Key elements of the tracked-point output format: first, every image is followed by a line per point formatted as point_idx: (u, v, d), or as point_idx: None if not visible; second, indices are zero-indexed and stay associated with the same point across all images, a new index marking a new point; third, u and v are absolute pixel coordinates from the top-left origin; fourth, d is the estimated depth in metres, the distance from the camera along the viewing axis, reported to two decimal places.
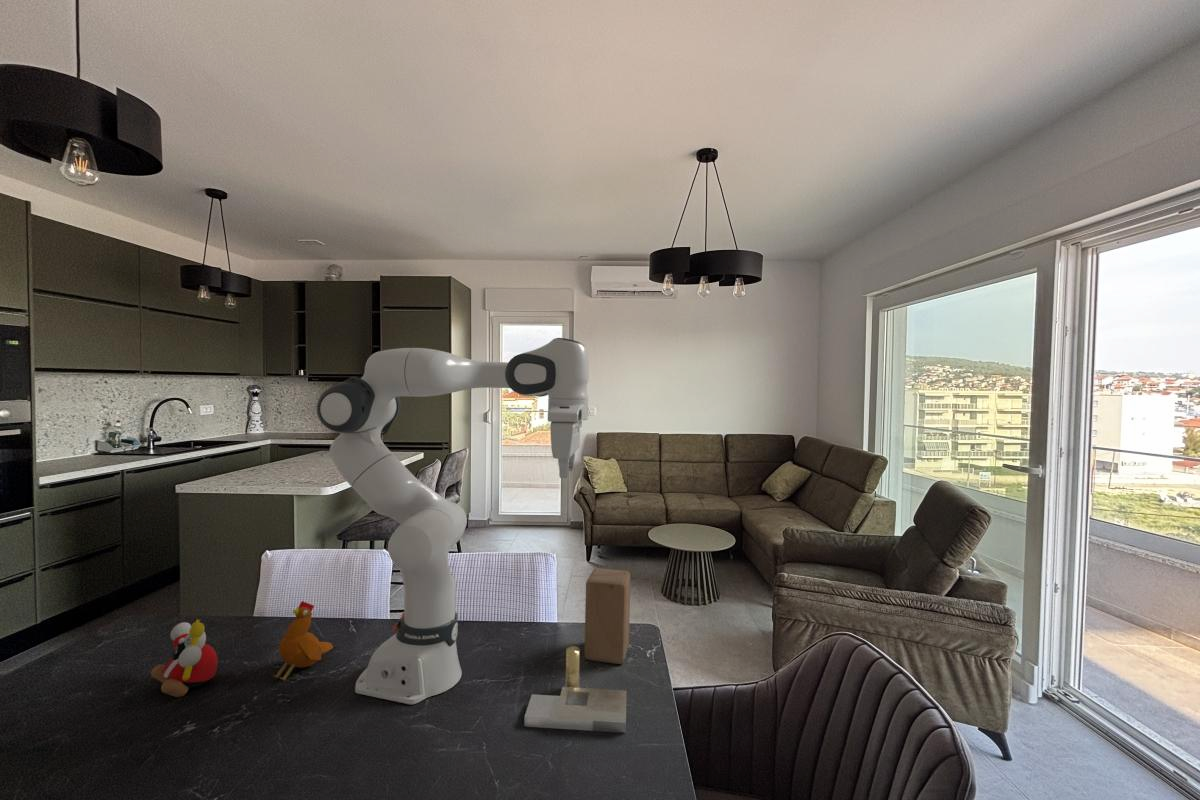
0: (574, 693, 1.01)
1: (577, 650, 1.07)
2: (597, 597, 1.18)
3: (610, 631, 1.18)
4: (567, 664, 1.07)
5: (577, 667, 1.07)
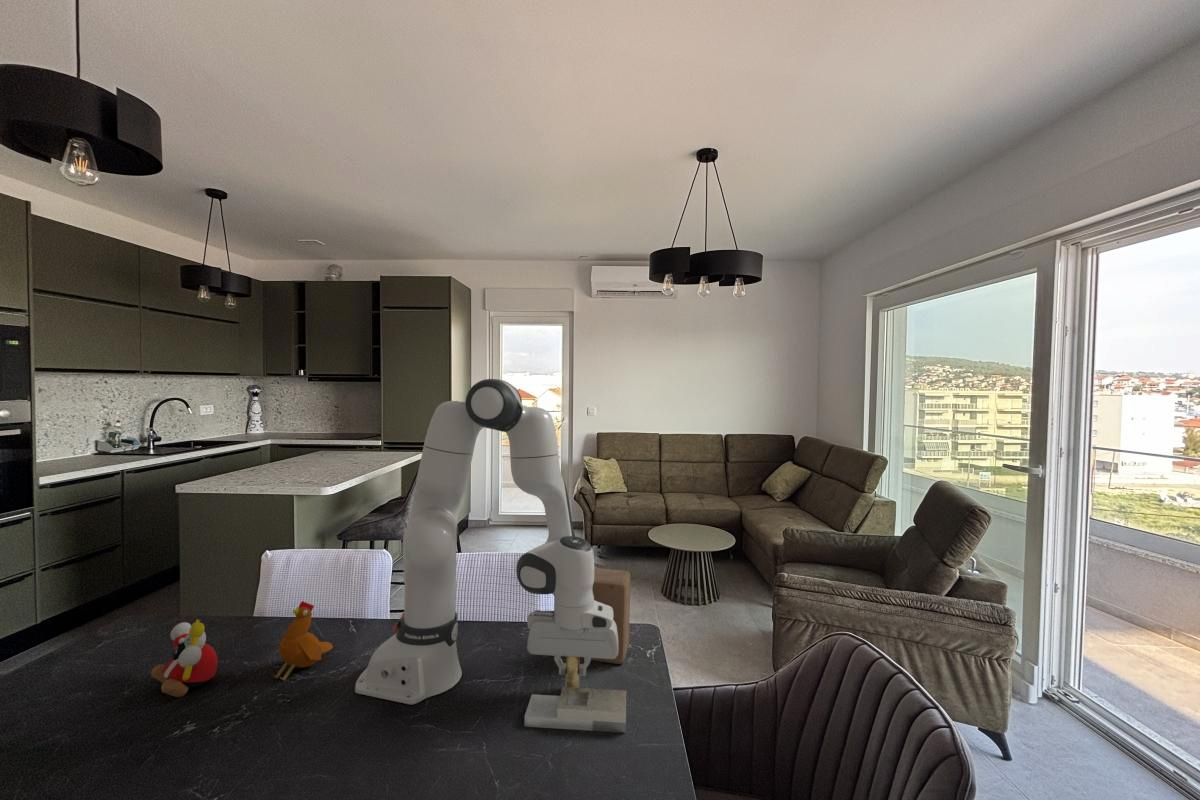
0: (574, 693, 1.01)
1: None
2: (597, 597, 1.18)
3: None
4: (567, 664, 1.07)
5: (577, 667, 1.07)
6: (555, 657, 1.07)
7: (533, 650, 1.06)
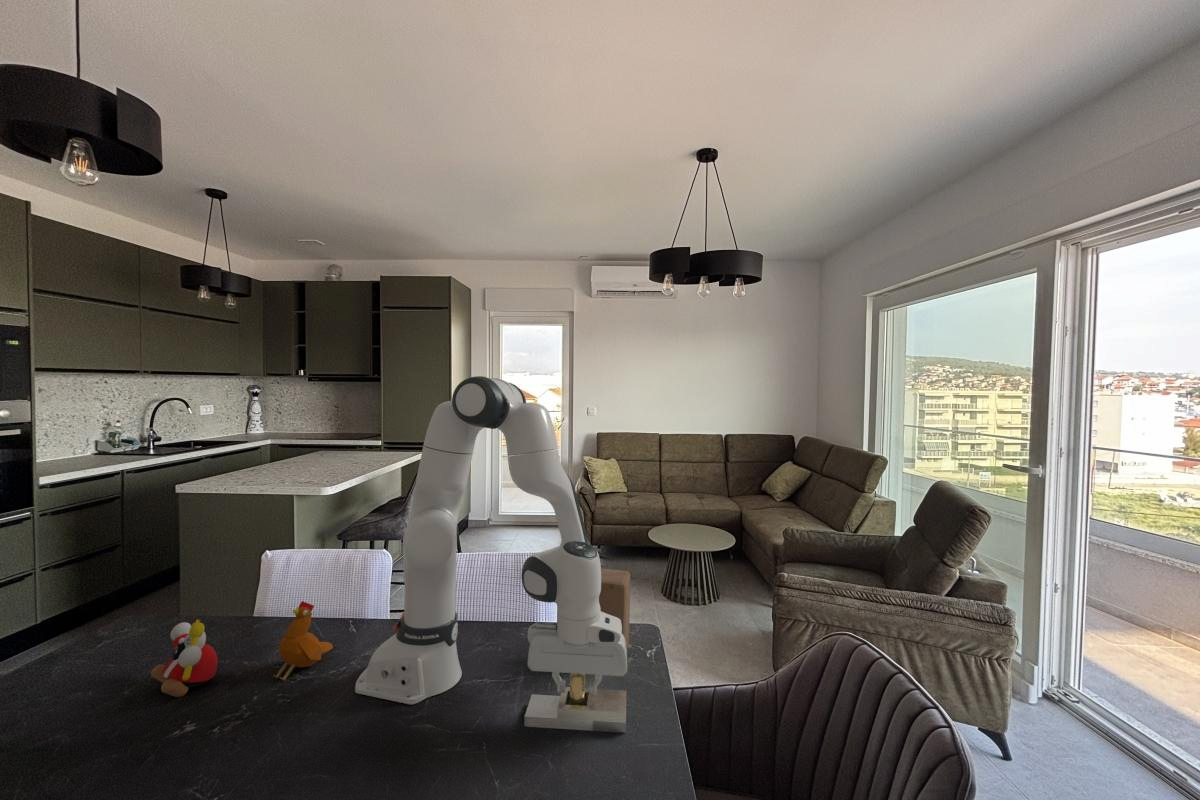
0: None
1: (582, 674, 0.98)
2: None
3: None
4: (572, 690, 0.98)
5: (582, 693, 0.98)
6: (553, 673, 0.98)
7: (534, 666, 0.97)
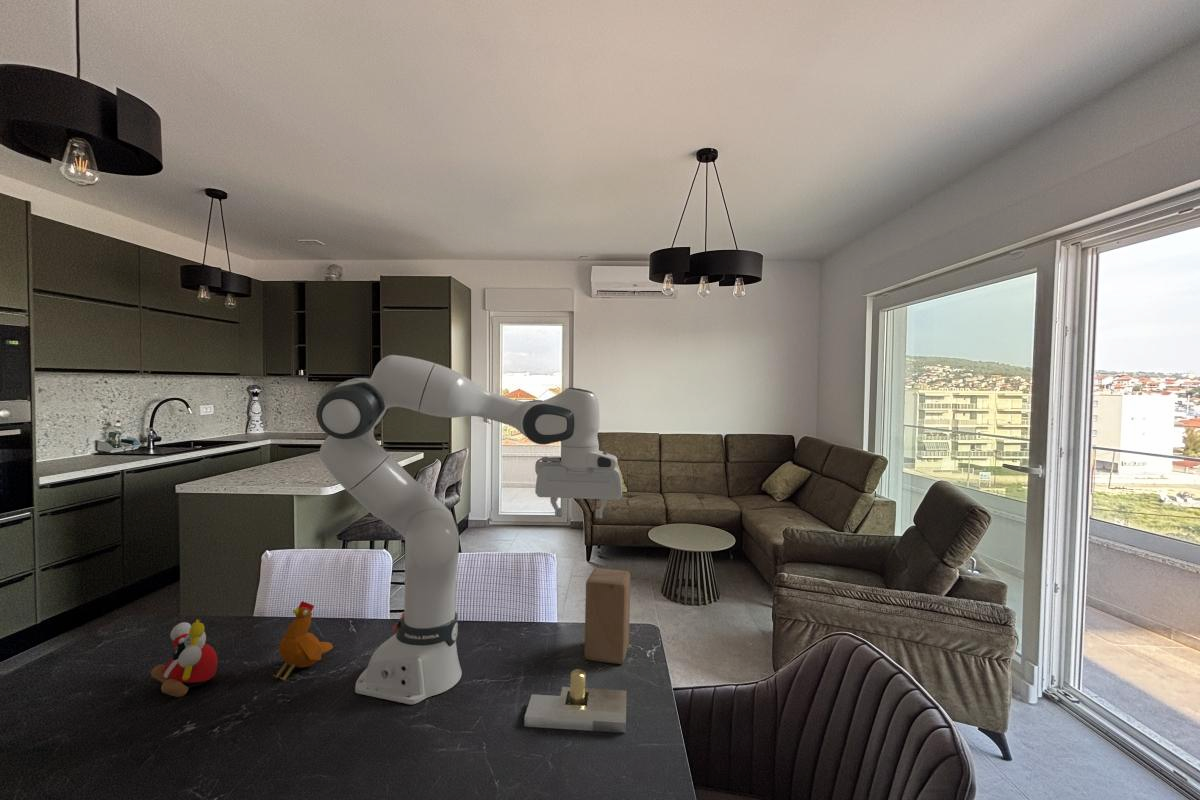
0: None
1: (583, 674, 0.98)
2: (597, 597, 1.18)
3: (610, 631, 1.18)
4: (572, 690, 0.98)
5: (583, 693, 0.98)
6: (551, 499, 1.12)
7: (541, 492, 1.12)
